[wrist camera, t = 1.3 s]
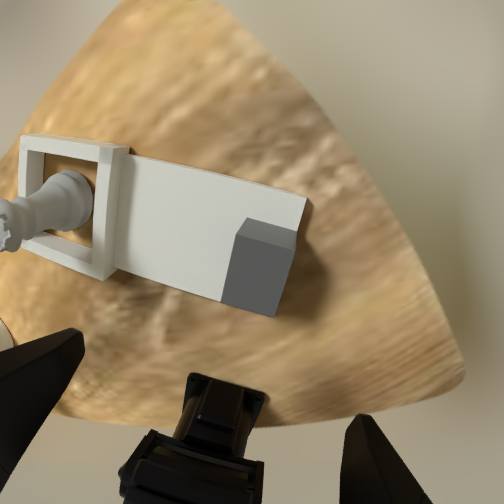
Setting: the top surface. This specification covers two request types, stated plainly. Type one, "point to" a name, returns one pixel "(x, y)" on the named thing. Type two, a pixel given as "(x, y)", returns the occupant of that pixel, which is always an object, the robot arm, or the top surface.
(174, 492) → the robot arm
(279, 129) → the top surface
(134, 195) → the grey board with frame
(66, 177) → the rook chess piece
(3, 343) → the cosmetic bottle
